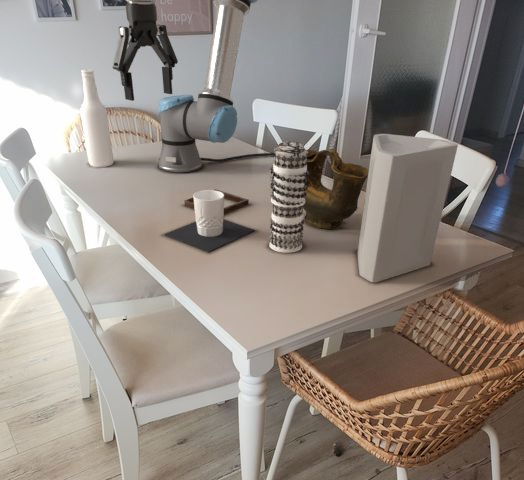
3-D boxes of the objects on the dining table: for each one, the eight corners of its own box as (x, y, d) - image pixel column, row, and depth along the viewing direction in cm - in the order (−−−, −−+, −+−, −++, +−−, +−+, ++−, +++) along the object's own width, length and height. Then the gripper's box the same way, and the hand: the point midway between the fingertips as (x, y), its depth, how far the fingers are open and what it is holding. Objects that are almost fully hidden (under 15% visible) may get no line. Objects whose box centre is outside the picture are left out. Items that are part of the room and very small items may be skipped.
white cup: (201, 240, 133) (200, 202, 127) (190, 229, 139) (188, 192, 133) (229, 235, 136) (229, 197, 130) (217, 224, 142) (216, 188, 136)
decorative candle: (292, 256, 127) (299, 152, 113) (261, 247, 131) (263, 145, 116) (309, 244, 134) (318, 143, 119) (279, 235, 137) (283, 137, 123)
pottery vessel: (278, 213, 151) (281, 142, 139) (305, 205, 157) (310, 136, 145) (341, 241, 136) (351, 164, 124) (368, 231, 141) (380, 156, 130)
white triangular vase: (388, 242, 135) (408, 129, 119) (431, 264, 125) (459, 144, 109) (332, 258, 127) (345, 139, 111) (372, 283, 117) (394, 156, 100)
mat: (211, 216, 148) (211, 215, 147) (254, 231, 140) (254, 230, 139) (164, 235, 136) (164, 234, 136) (208, 252, 128) (208, 251, 128)
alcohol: (83, 164, 185) (67, 70, 167) (102, 158, 191) (88, 67, 173) (100, 169, 181) (85, 73, 163) (119, 163, 187) (106, 70, 169)
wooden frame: (215, 194, 163) (215, 189, 162) (248, 204, 156) (248, 199, 155) (184, 205, 154) (184, 200, 153) (218, 217, 147) (217, 211, 146)
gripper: (109, 4, 118) (121, 104, 131) (187, 3, 134) (192, 92, 147) (89, 2, 122) (103, 100, 134) (167, 1, 138) (173, 89, 150)
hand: (149, 96), depth 141 cm, fingers open, 13 cm apart
